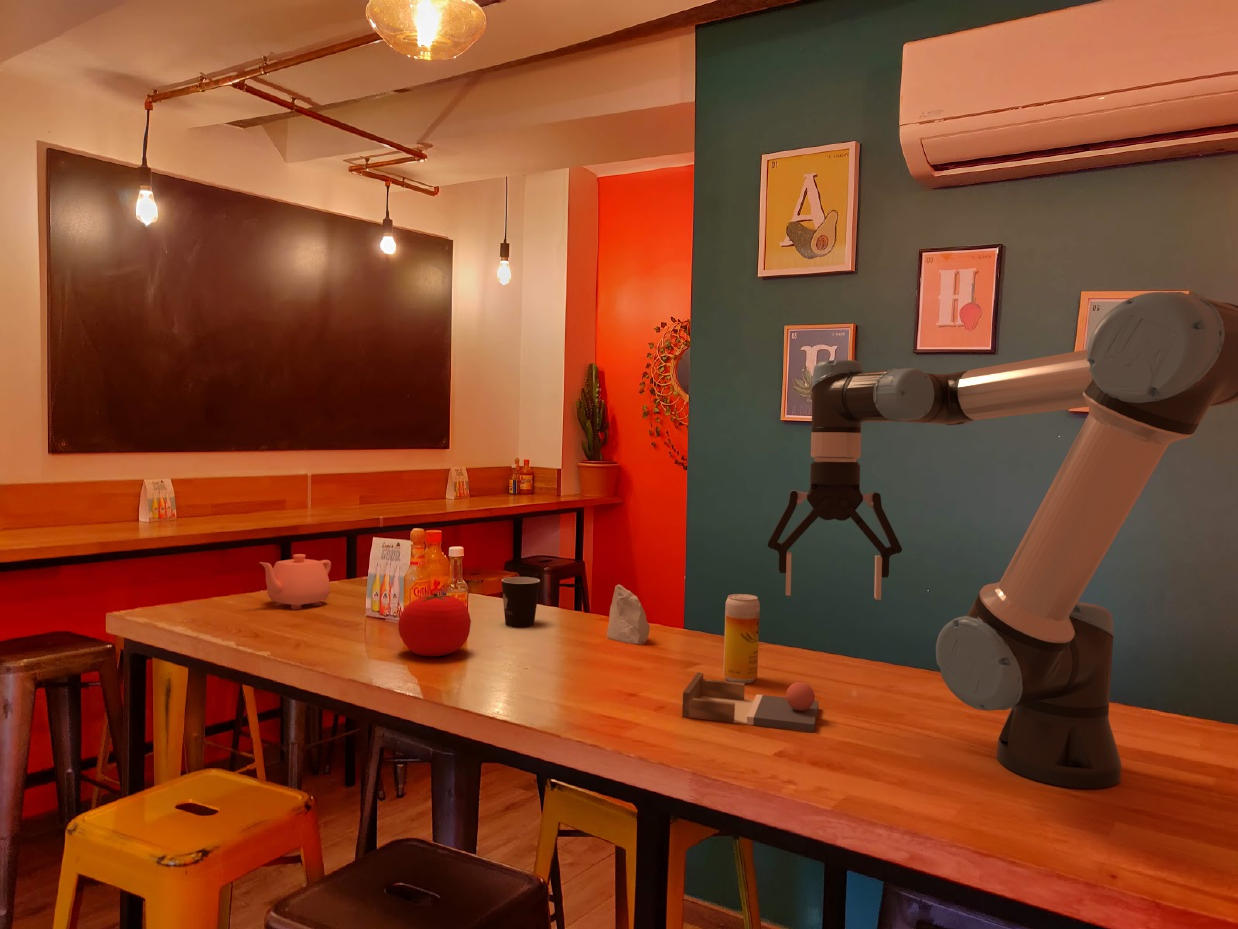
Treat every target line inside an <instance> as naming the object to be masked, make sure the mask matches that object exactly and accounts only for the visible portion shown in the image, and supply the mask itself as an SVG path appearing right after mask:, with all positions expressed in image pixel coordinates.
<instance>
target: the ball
mask: <svg viewBox="0 0 1238 929" xmlns="http://www.w3.org/2000/svg"><path fill="white" fill-rule="evenodd" d="M815 695H816V694H815V692H814V689H813V688H812V687H811V686H810V685H809V684H808V683H806V682H802V681H796V682H793V683H792V684H791V685H789V687H787V690H786V691H785V697H786V699H787V702H788V704H789V705H790V707H792V708H793V709H795V710H797V711H805V710H807V709H809V708H810V707H811V706H812V705H813V703H814V701H815Z"/></svg>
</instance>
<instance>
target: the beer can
mask: <svg viewBox="0 0 1238 929" xmlns="http://www.w3.org/2000/svg"><path fill="white" fill-rule="evenodd" d="M760 604H761V603H760V601H759V598H758V596H757V595H752V594H747V593H746V594H745V593H744V594H743V593H734V594H732V593H731V594H729V595H727V599H726V601H725V608H724V609H725V610H724V612H725V613H724V636H723V638H724V639H723V670H722V672H723V673H722V674H723V676H724V677H725V679H726V681H727V682H736V683H745V684H750V683H753V682H755V679H756V678H757V677H758V668H759V667H758V665H759V663H758V662H759V642H760V641H759V635H760V611H761V606H760Z"/></svg>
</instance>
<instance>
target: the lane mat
mask: <svg viewBox="0 0 1238 929" xmlns="http://www.w3.org/2000/svg"><path fill="white" fill-rule="evenodd" d="M700 699H707V700H715V701H724V702H733V703H735V719H734V723H733V724H741V725H742V724H743V725H749V726H759V727H769V728H775V729H784V730H793V731H800V732H807V733H815V728H816V723H817V722H816V721H817V716H818V712H819V700H814V703H813V705H812V706H811V707H810V708H809V709H807V710H805V711H797V710H795V709H793V708H792V707H790V705H789V704H788V702H787V699H786V696H785V697H783V696H776V695H767V694H757V693H756V695H755V697H754V698H753V699H749V698H744V700H743V701H742V700H733V699H724V698H715V697H707V696H701V698H700Z"/></svg>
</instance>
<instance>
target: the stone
mask: <svg viewBox="0 0 1238 929" xmlns="http://www.w3.org/2000/svg"><path fill="white" fill-rule="evenodd" d="M608 619H609V620H608V626H607V631H606V638H607V639H608V640H609V639H610V640H614V641H617V642H621V643H626V644H629V645H631V644H632V645H638V646H639V645H640V646H641V645H644V644H645V643H646V642H647V639H648V638H649V633H650V627H651V625H650V623H649V622H648V621H647V615H646V612H645V610H644V607H643V606H642V604H641V601H640V600H639V598H638V596H637V595H635V594H634V593H633V592H631V590H628V589H626V588H625V587H624V586H623V585H621V584H617V585H615V587H614V592H613V596H612V601H611V604H610V608H609V618H608Z"/></svg>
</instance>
